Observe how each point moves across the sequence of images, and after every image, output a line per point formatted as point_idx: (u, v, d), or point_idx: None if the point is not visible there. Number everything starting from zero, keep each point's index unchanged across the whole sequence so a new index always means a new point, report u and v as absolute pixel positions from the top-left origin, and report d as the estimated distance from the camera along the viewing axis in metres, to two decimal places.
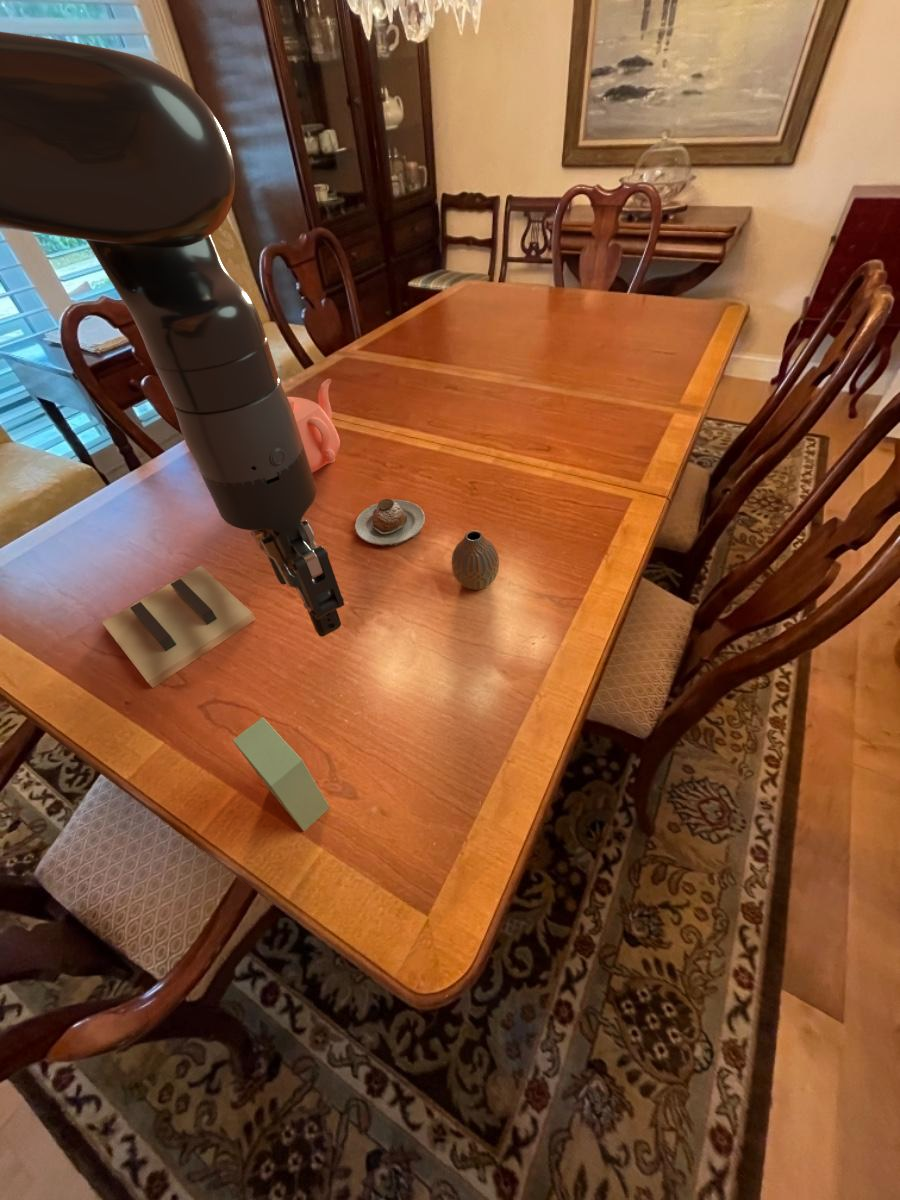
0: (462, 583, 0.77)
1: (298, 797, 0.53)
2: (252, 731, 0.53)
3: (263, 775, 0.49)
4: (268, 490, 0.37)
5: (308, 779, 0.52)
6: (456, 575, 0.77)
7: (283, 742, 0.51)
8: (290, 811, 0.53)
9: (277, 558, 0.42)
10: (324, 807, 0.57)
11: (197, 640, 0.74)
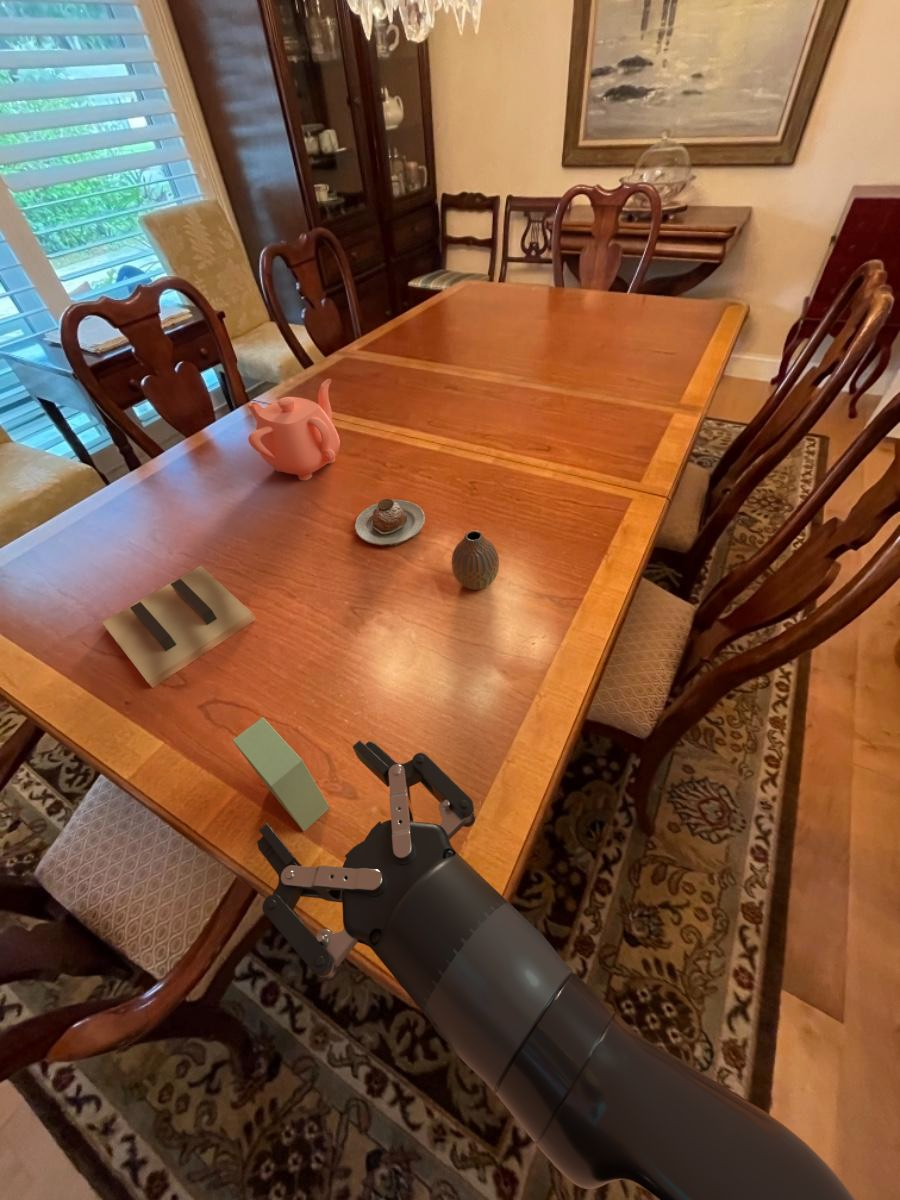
0: (462, 583, 0.77)
1: (298, 797, 0.53)
2: (252, 731, 0.53)
3: (263, 775, 0.49)
4: (411, 997, 0.30)
5: (308, 779, 0.52)
6: (456, 575, 0.77)
7: (283, 742, 0.51)
8: (290, 811, 0.53)
9: (351, 889, 0.33)
10: (324, 807, 0.57)
11: (197, 640, 0.74)
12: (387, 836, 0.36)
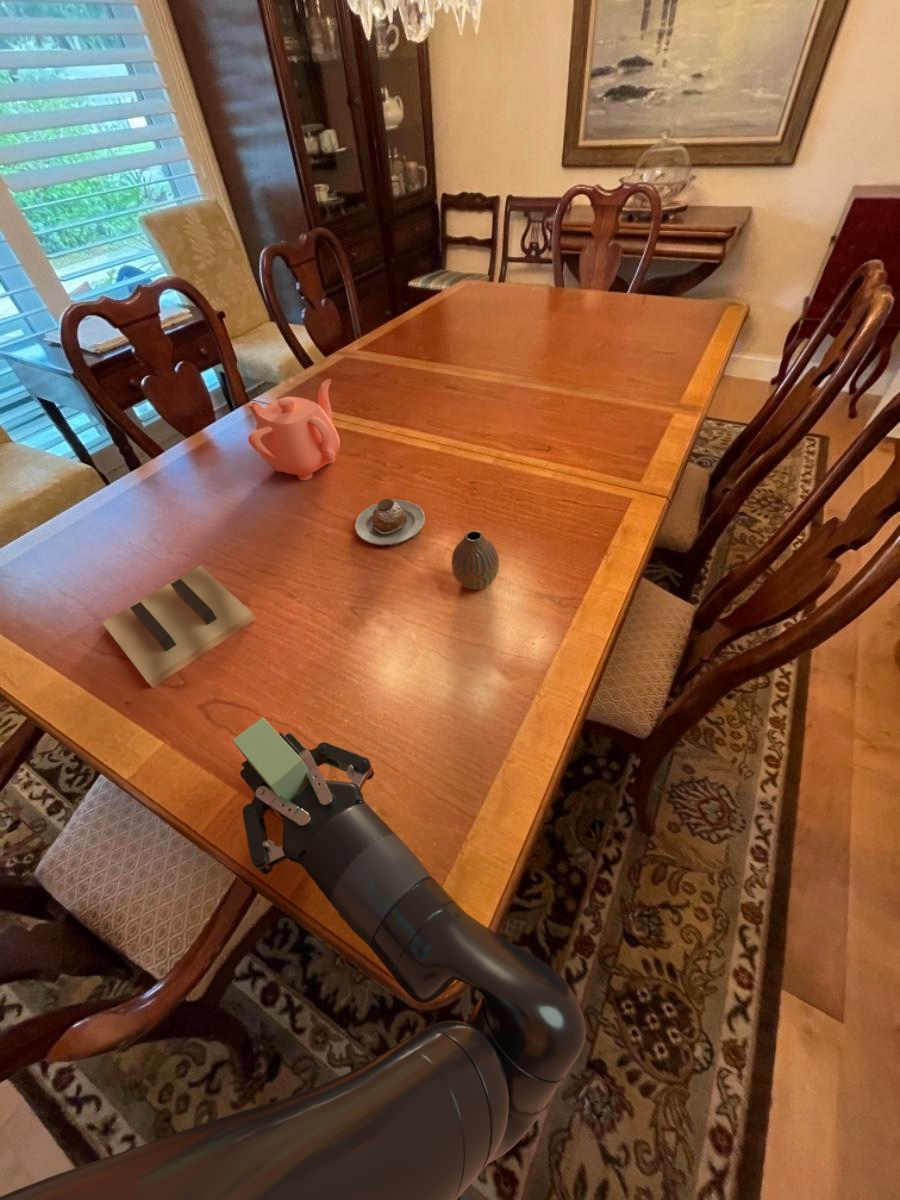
0: (462, 583, 0.77)
1: None
2: (252, 731, 0.53)
3: (263, 775, 0.49)
4: (324, 894, 0.45)
5: (308, 779, 0.52)
6: (456, 575, 0.77)
7: (283, 742, 0.51)
8: None
9: (289, 819, 0.49)
10: None
11: (197, 640, 0.74)
12: None
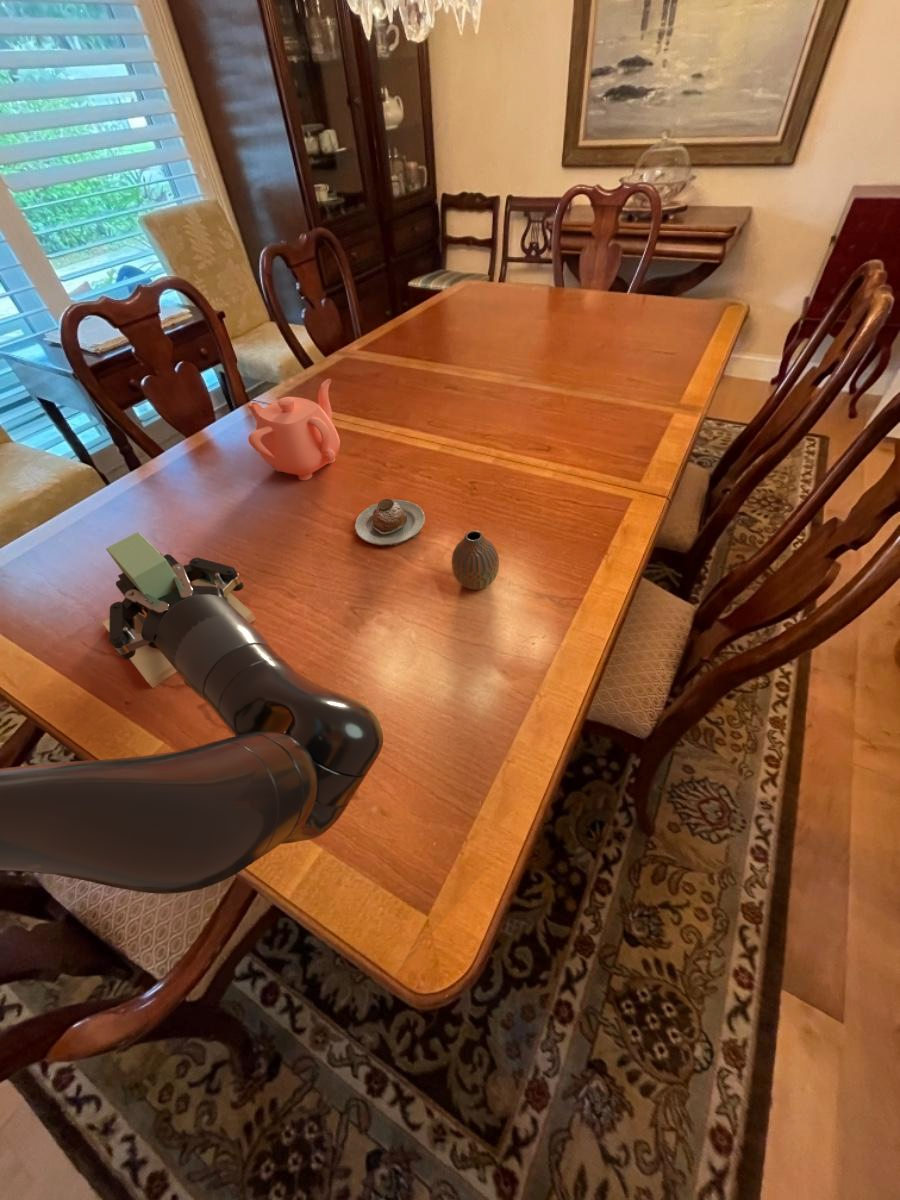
0: (462, 583, 0.77)
1: None
2: (125, 541, 0.56)
3: (127, 570, 0.53)
4: (171, 664, 0.48)
5: None
6: (456, 575, 0.77)
7: (152, 548, 0.55)
8: None
9: (150, 609, 0.52)
10: None
11: None
12: None
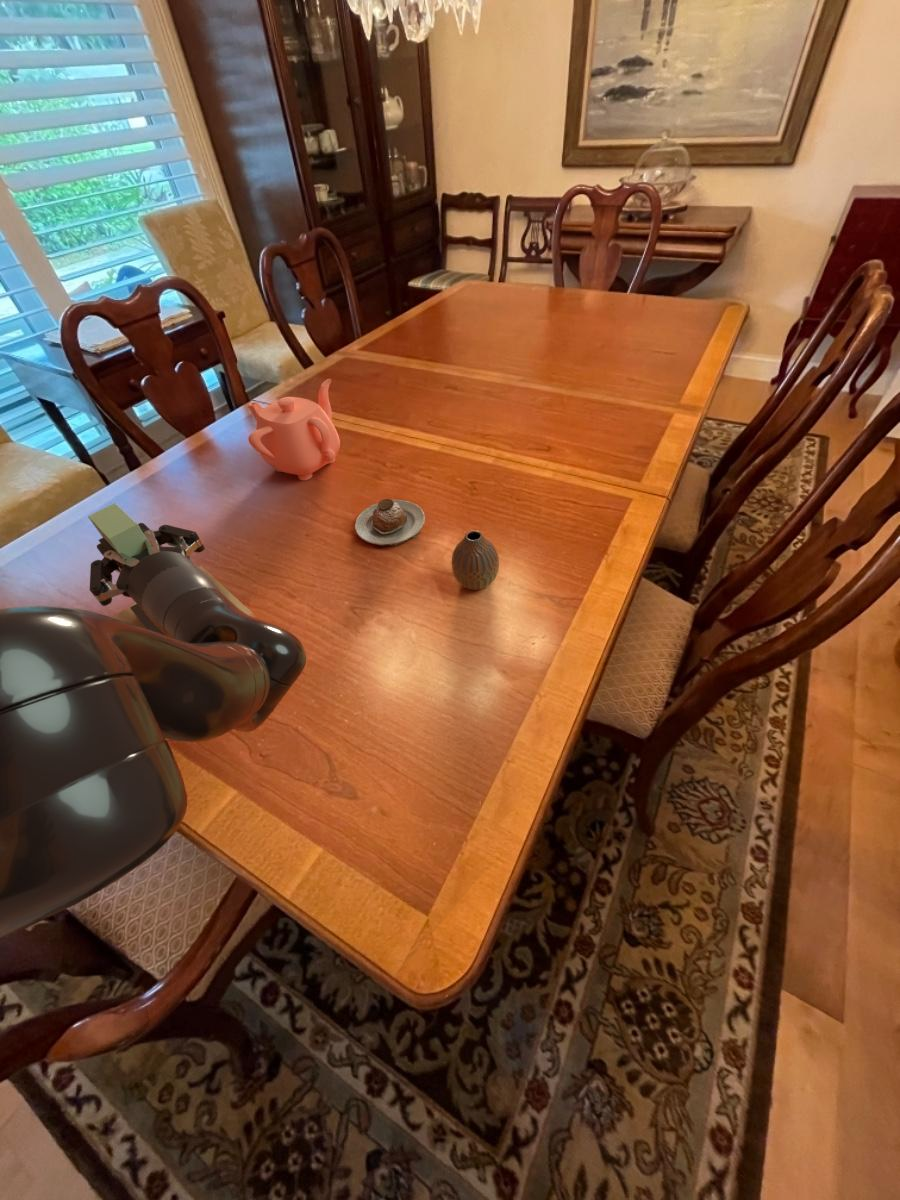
0: (462, 583, 0.77)
1: None
2: (104, 510, 0.67)
3: (105, 533, 0.63)
4: (140, 606, 0.59)
5: None
6: (456, 575, 0.77)
7: (126, 515, 0.65)
8: None
9: (124, 565, 0.63)
10: None
11: None
12: None
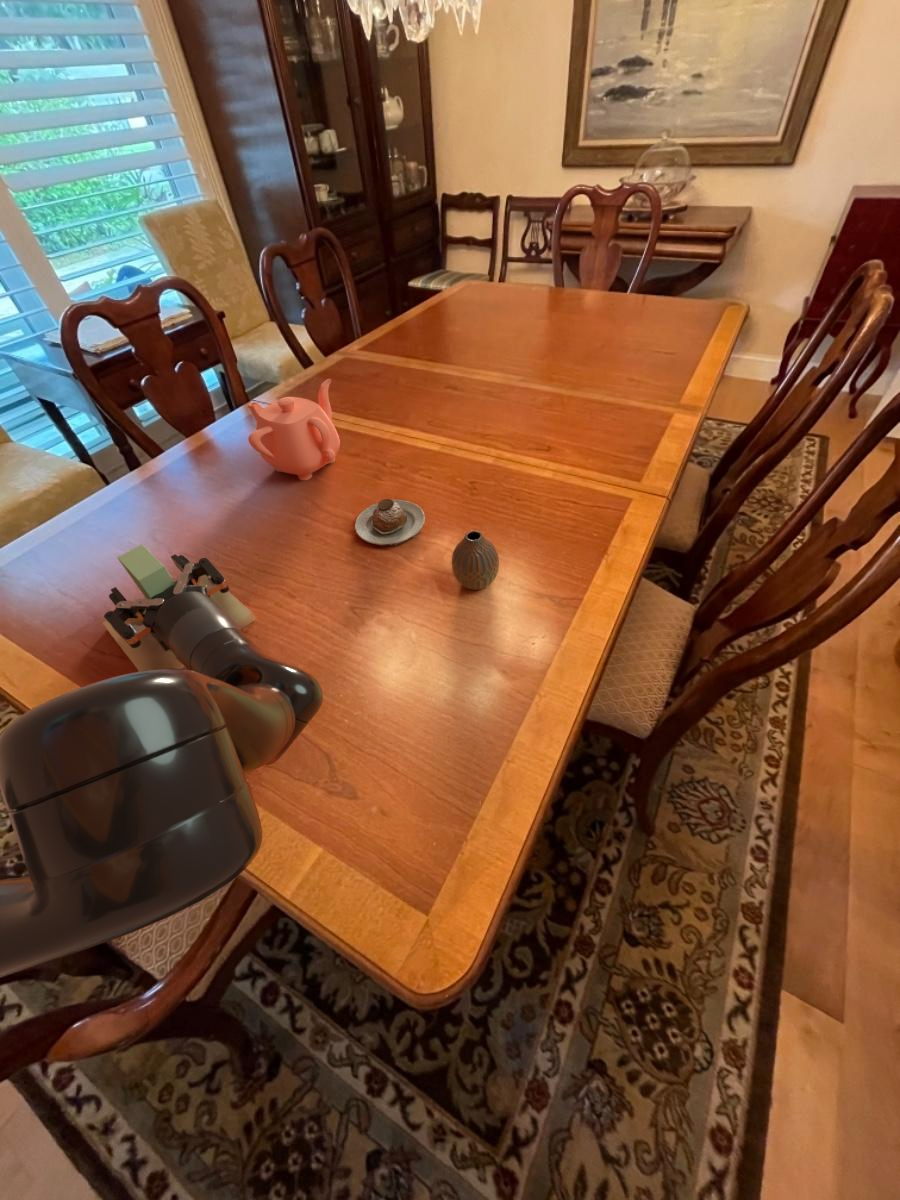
0: (462, 583, 0.77)
1: None
2: (132, 552, 0.72)
3: (134, 575, 0.68)
4: (166, 644, 0.64)
5: None
6: (456, 575, 0.77)
7: (153, 557, 0.70)
8: None
9: (148, 607, 0.67)
10: None
11: None
12: None
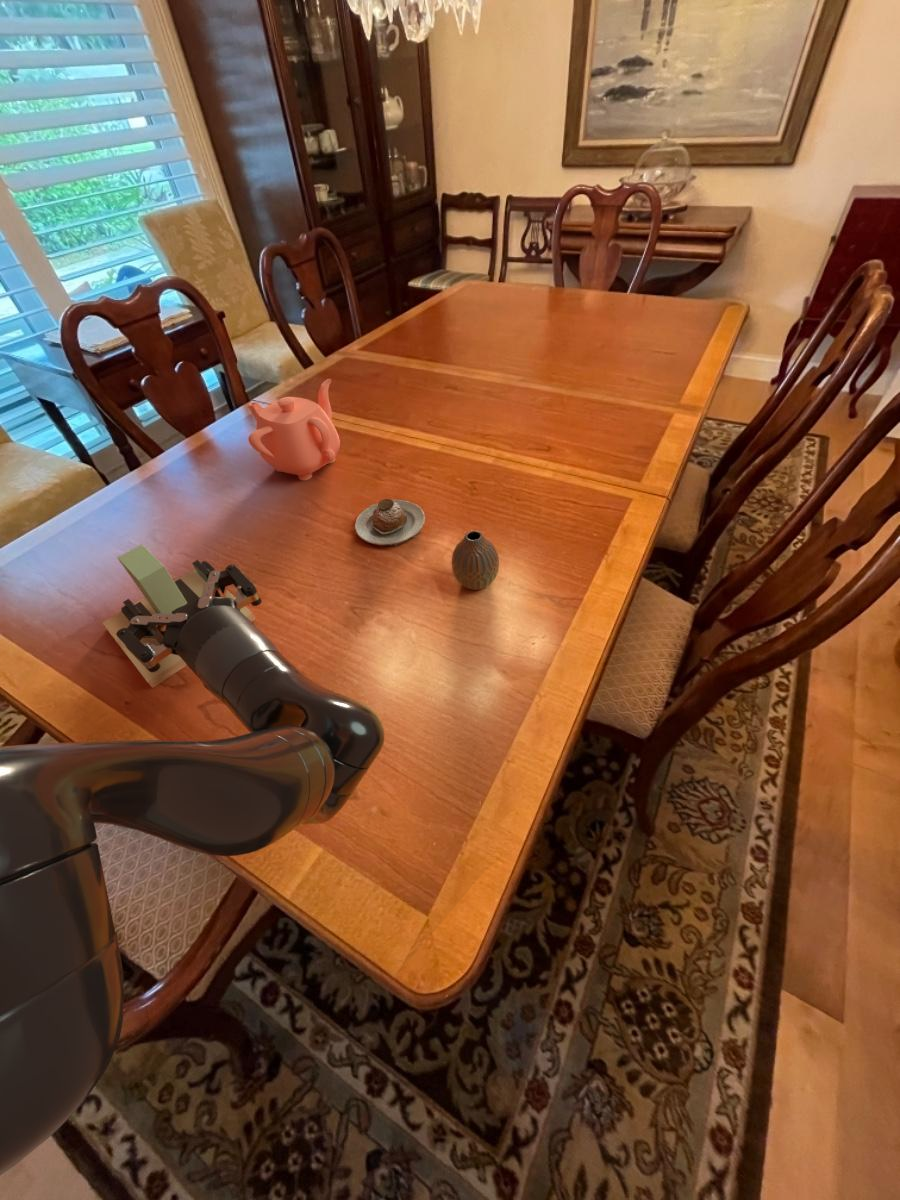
0: (462, 583, 0.77)
1: (166, 600, 0.71)
2: (132, 552, 0.72)
3: (134, 575, 0.68)
4: (191, 669, 0.54)
5: (173, 587, 0.71)
6: (456, 575, 0.77)
7: (153, 557, 0.70)
8: (160, 611, 0.72)
9: (169, 623, 0.57)
10: None
11: None
12: None
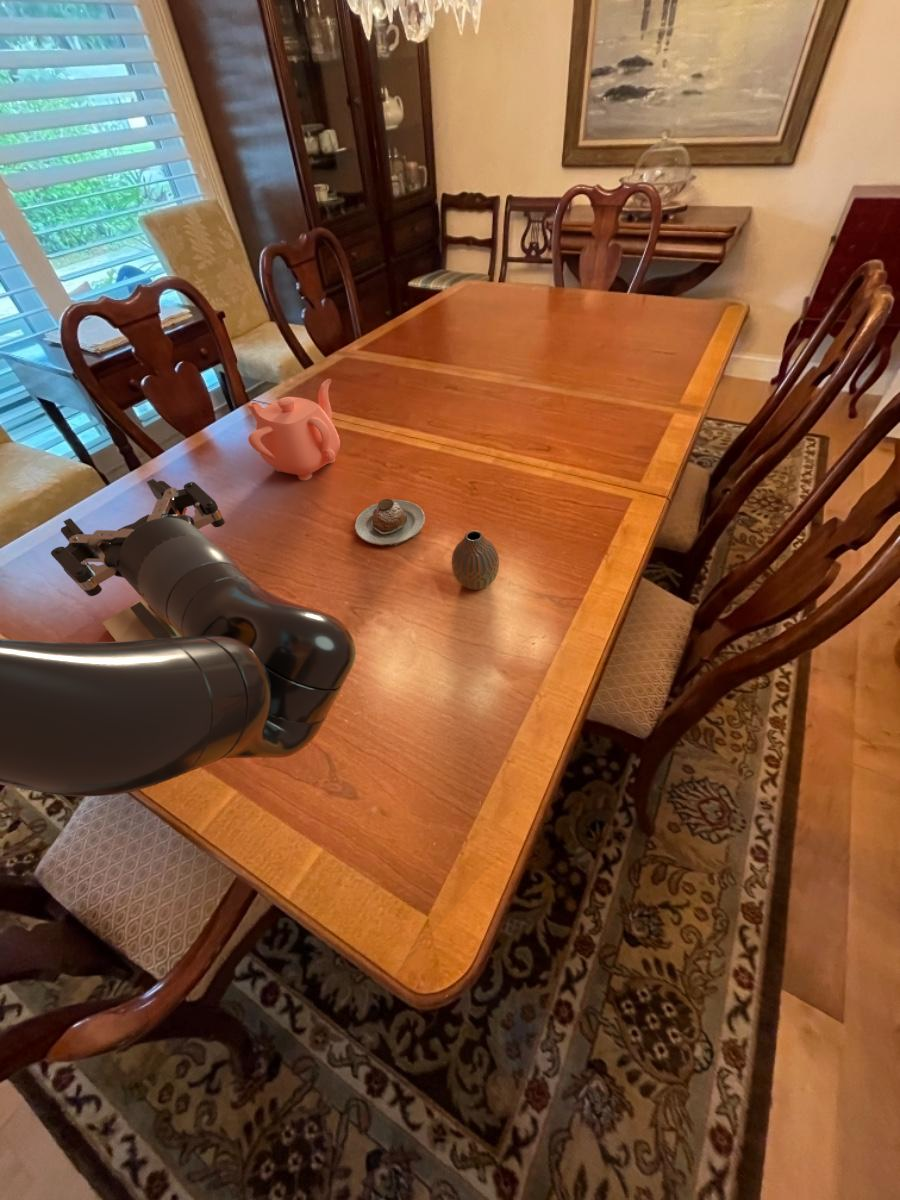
0: (462, 583, 0.77)
1: None
2: None
3: None
4: (135, 588, 0.45)
5: None
6: (456, 575, 0.77)
7: None
8: None
9: (112, 540, 0.48)
10: None
11: None
12: None
